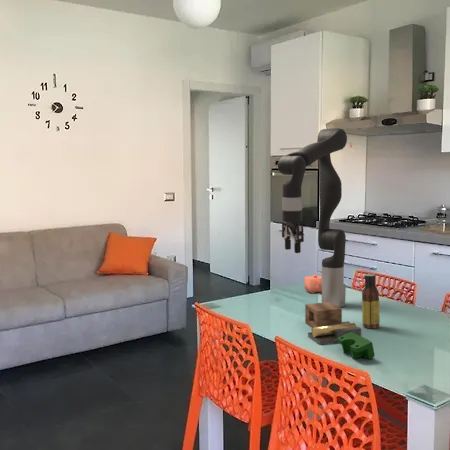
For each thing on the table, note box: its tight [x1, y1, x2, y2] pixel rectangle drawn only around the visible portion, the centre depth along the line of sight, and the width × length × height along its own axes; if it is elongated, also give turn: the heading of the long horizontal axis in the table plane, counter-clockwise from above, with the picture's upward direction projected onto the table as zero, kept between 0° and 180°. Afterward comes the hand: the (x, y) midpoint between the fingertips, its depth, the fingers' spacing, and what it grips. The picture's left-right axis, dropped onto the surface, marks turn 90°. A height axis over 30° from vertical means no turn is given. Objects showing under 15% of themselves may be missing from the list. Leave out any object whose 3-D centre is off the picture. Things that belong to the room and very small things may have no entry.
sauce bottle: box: [361, 273, 381, 330], centre depth 194 cm, size 7×6×20 cm
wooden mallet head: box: [304, 302, 343, 329], centre depth 196 cm, size 10×10×8 cm
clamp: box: [338, 332, 376, 360], centre depth 166 cm, size 12×6×9 cm, turn 14°
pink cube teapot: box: [304, 274, 322, 295], centre depth 249 cm, size 8×12×8 cm, turn 13°
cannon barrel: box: [310, 322, 358, 337], centre depth 182 cm, size 16×3×3 cm, turn 107°
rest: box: [307, 321, 362, 346], centre depth 183 cm, size 16×9×4 cm, turn 107°
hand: (292, 251), depth 199 cm, fingers open, 8 cm apart
